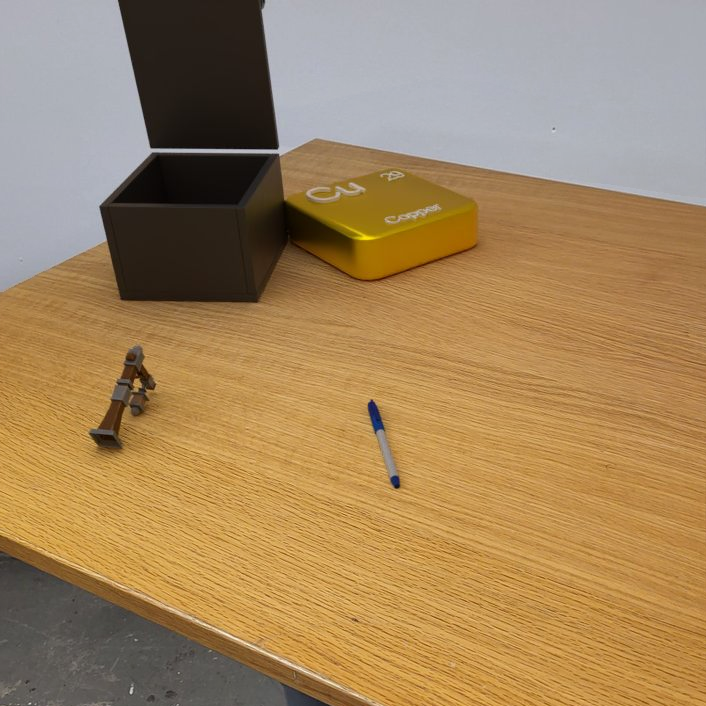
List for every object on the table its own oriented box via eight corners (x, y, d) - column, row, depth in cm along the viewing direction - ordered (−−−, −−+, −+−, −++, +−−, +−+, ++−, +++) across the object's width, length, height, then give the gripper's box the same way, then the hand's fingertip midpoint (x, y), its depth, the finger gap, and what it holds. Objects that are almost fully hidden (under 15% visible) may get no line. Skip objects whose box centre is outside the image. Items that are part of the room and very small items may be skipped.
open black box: (257, 302, 84) (244, 208, 79) (120, 300, 85) (98, 206, 79) (289, 238, 96) (279, 153, 91) (168, 237, 96) (152, 152, 91)
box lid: (255, -25, 80) (267, -39, 84) (112, -25, 81) (130, -38, 85) (278, 150, 90) (288, 130, 94) (150, 148, 91) (165, 129, 95)
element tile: (364, 285, 87) (361, 236, 84) (281, 237, 96) (275, 192, 93) (486, 244, 94) (487, 198, 91) (398, 203, 104) (396, 160, 101)
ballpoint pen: (364, 408, 70) (363, 397, 69) (375, 406, 70) (375, 395, 69) (393, 491, 62) (392, 479, 61) (406, 489, 62) (405, 477, 61)
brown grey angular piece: (167, 376, 72) (146, 340, 68) (134, 466, 68) (111, 433, 64) (144, 374, 72) (123, 338, 68) (111, 464, 68) (86, 431, 64)
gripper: (272, -193, 82) (291, 9, 91) (112, -192, 82) (148, 8, 92) (252, -192, 75) (275, 24, 85) (80, -191, 76) (122, 24, 85)
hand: (209, 16), depth 88 cm, fingers open, 8 cm apart
